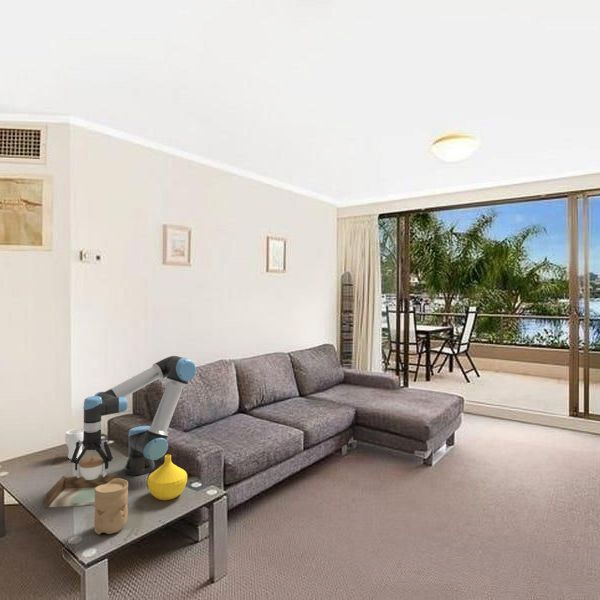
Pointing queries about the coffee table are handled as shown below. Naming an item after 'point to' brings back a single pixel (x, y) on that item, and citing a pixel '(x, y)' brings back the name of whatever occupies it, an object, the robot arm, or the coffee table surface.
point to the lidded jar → (91, 467)
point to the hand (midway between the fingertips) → (91, 476)
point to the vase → (167, 480)
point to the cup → (73, 441)
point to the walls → (76, 485)
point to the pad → (85, 496)
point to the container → (111, 506)
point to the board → (68, 498)
